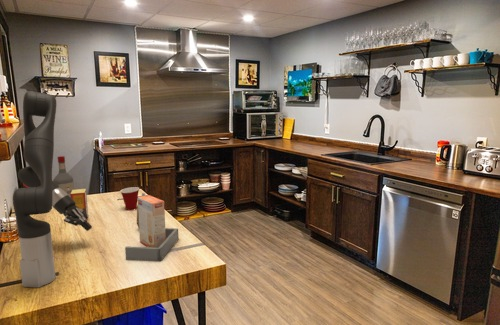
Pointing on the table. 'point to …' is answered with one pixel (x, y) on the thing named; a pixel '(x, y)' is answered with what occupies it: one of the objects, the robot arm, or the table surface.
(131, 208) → the plastic cup
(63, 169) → the liquor
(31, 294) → the table surface
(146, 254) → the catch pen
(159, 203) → the cracker box
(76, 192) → the baking soda box
